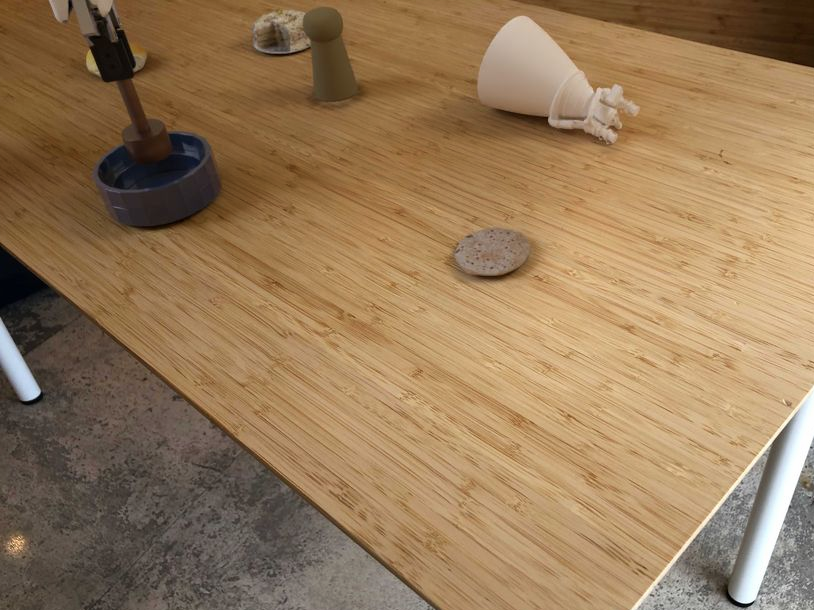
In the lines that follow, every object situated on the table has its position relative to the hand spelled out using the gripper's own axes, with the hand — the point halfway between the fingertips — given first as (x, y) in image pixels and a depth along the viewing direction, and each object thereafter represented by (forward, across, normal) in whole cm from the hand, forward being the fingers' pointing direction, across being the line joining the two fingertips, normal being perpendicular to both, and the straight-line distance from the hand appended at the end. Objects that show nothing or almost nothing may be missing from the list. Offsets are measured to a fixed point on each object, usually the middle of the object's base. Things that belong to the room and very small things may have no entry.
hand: (120, 73), depth 89 cm
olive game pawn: (+16, -20, +22) cm, 34 cm away
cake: (+16, -39, +16) cm, 45 cm away
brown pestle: (+10, 0, 0) cm, 10 cm away
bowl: (+15, 0, 0) cm, 15 cm away
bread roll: (+15, -40, -9) cm, 44 cm away
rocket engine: (+16, -1, +47) cm, 49 cm away
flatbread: (+16, +23, +34) cm, 44 cm away
